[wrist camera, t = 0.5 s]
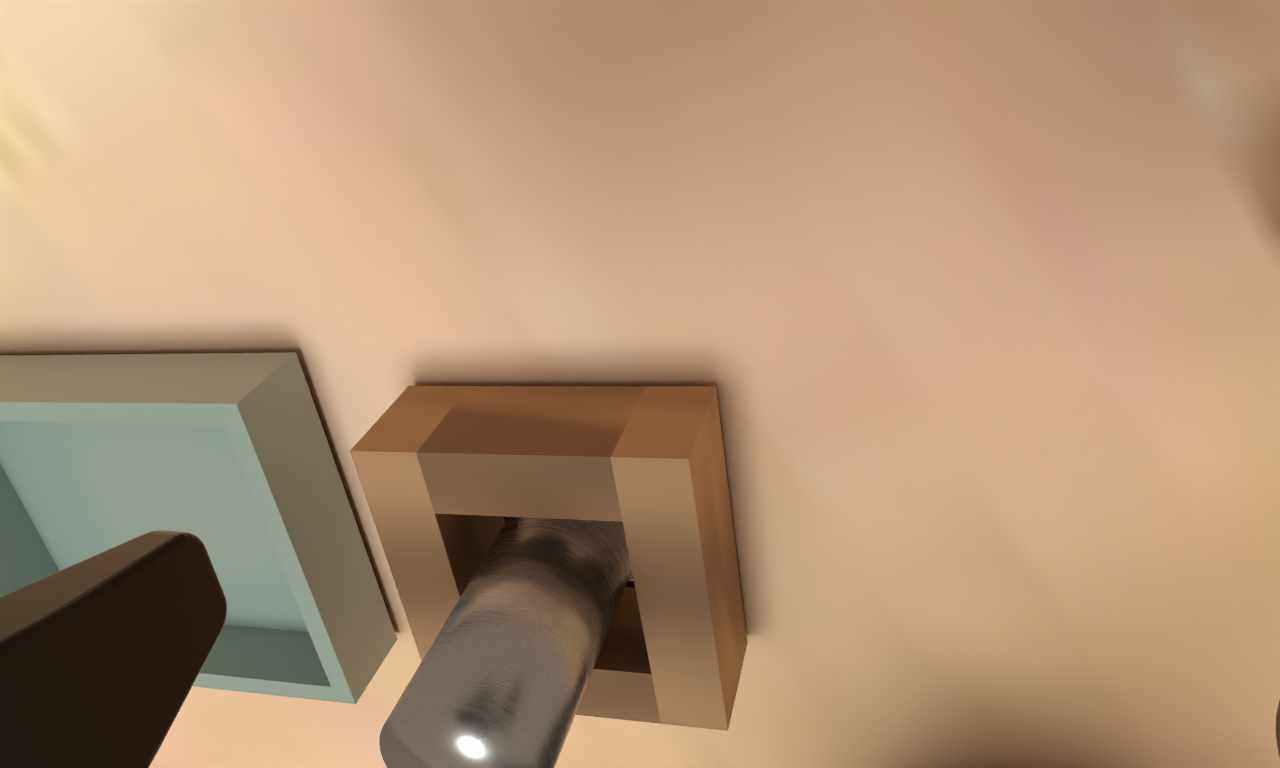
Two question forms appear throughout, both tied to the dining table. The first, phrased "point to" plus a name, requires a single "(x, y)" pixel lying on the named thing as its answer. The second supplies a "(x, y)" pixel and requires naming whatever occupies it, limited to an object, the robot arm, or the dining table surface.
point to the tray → (198, 502)
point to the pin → (514, 650)
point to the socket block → (579, 490)
